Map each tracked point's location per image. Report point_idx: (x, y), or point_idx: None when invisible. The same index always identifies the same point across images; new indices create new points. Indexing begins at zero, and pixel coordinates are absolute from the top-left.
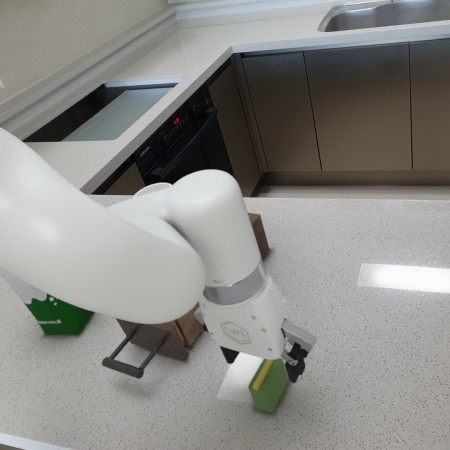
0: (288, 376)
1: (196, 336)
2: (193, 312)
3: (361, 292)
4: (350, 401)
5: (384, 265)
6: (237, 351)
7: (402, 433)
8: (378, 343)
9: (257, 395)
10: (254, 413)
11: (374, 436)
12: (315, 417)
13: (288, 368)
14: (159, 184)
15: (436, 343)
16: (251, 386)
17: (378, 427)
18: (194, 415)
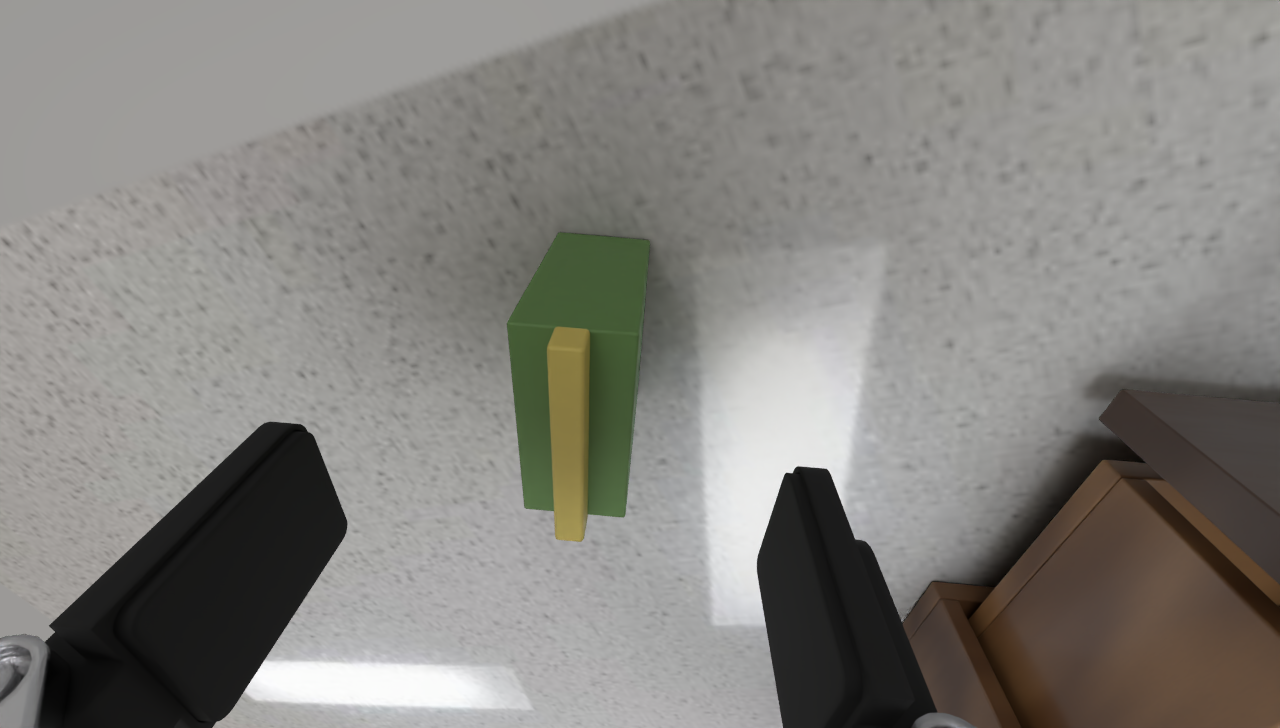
0: (266, 472)
1: (1072, 502)
2: (1145, 657)
3: (486, 652)
4: (281, 353)
5: (468, 706)
6: (772, 553)
7: (19, 277)
8: None
9: (589, 295)
10: (647, 210)
11: (92, 239)
12: (362, 260)
13: (109, 584)
14: None
15: None
16: (614, 341)
17: (111, 279)
18: (1006, 107)
